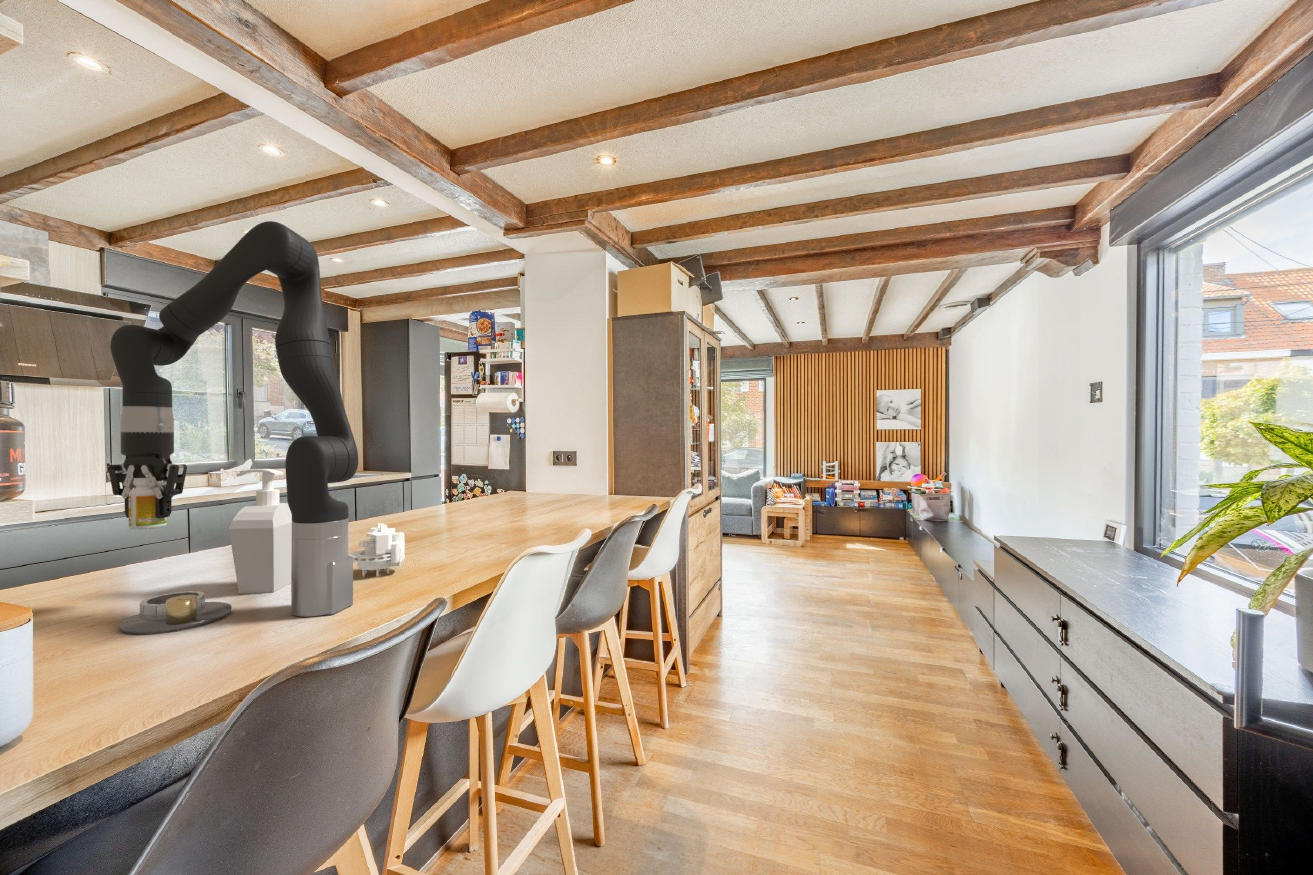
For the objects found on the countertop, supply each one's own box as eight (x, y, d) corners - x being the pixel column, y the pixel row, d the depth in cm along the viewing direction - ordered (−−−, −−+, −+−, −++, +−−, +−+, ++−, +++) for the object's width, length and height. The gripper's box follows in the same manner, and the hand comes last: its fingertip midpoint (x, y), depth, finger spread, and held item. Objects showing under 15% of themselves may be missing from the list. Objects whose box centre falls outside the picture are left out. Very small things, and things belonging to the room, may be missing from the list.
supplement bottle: (174, 525, 106) (174, 476, 106) (146, 530, 101) (146, 478, 100) (150, 524, 106) (150, 476, 106) (120, 529, 101) (120, 478, 101)
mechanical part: (353, 570, 131) (353, 522, 131) (406, 566, 136) (406, 520, 136) (344, 582, 121) (344, 530, 121) (402, 577, 125) (403, 527, 125)
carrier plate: (252, 606, 103) (252, 582, 103) (179, 635, 88) (179, 606, 88) (178, 604, 104) (178, 580, 104) (93, 633, 89) (93, 604, 89)
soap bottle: (253, 580, 121) (254, 467, 121) (302, 579, 123) (302, 467, 123) (218, 596, 109) (219, 471, 109) (273, 594, 111) (273, 471, 111)
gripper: (200, 430, 107) (200, 515, 107) (132, 430, 107) (132, 514, 108) (164, 430, 99) (164, 520, 99) (91, 430, 100) (91, 520, 100)
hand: (148, 517), depth 103 cm, fingers closed on supplement bottle, 5 cm apart
